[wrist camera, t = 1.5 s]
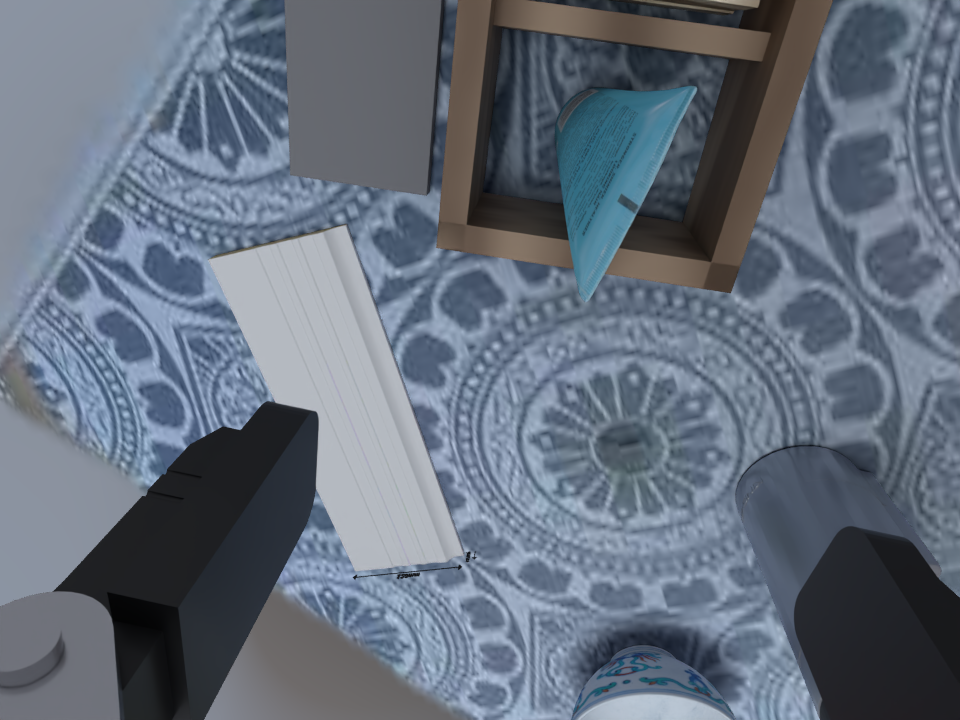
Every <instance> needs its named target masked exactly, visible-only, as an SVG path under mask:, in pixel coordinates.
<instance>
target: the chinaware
mask: <svg viewBox="0 0 960 720" xmlns="http://www.w3.org/2000/svg"><path fill="white" fill-rule="evenodd" d="M571 720H736V718H735V716H734V714H733V713H732V711H731V709H730V708H729V706H728V704H727V703H726V701H725V700H724V698H723V697H722V696H721V694H720V693H719V692H718V691H717V689H716V688H715V687H714V686H713V685H712V684H711V683H710V682H709V681H708V680H707V679H706V678H705V677H704V676H702V675H701V674H700V673H699V672H697V671H696V670H695V669H693V668H692V667H690V666H688V665H687V664H685V663H683V662H681V661H679V660H677V659H676V658H675V657H674V656H673V655H672V654H671V653H669V652H668V651H666V650H664V649H661V648H658V647H655V646H649V645H637V646H631V647H628V648H625V649H622V650H621V651H619V652H617V653H616V654H615V655H614V656H613V657H612V659H611V661H610V662H609V663H607V664H605V665H604V666H603V667H601V668H600V669H599V670H598V671H597V672H596V673H595V674H594V675H593V676H592V677H591V678H590V679H589V681H588V682H587V683H586V685H585V686H584V688H583V690H582V691H581V693H580V695H579V698H578V700H577V702H576V705H575V708H574V711H573V715H572V719H571Z"/></svg>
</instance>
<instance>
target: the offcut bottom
mask: <svg viewBox="0 0 960 720" xmlns="http://www.w3.org/2000/svg"><path fill="white" fill-rule="evenodd" d="M611 1H618V2H626V3H634V4H641V5H649V6H656V7H664V8H671V9H679V10H686V11H694V12H701V13H709V14H717V15H729V14H733V12H734V11H727V10H720V9H713V8H706V7H698V6H691V5H684V4H677V3H670V2H662V1H655V0H611Z"/></svg>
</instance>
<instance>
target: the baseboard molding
mask: <svg viewBox="0 0 960 720" xmlns="http://www.w3.org/2000/svg"><path fill="white" fill-rule="evenodd" d="M208 261H209V263H210V265H211V267H212V269H213V271H214V273H215V275H216V277H217V280H218V282H219V284H220V286H221V288H222V290H223V292H224V294H225V296H226V299H227V301H228V303H229V305H230V307H231V309H232V311H233V313H234V315H235V318H236V320H237V322H238V324H239V326H240V328H241V330H242V332H243V334H244V337H245V339H246V341H247V343H248V345H249V347H250V349H251V351H252V353H253V356H254V358H255V360H256V362H257V364H258V366H259V368H260V370H261V372H262V375H263V377H264V379H265V381H266V383H267V385H268V387H269V389H270V391H271V394H272V396H273V398H274V400H275V402H276V403H279V404H284V405H289V406H293V407H298V408H303V409H307V410H312V411H316V412H317V414H318V417H319V431H318V452H317V473H316V489H317V491H318V493H319V495H320V497H321V499H322V501H323V503H324V506H325V508H326V510H327V512H328V514H329V516H330V518H331V520H332V522H333V525H334V527H335V529H336V531H337V533H338V535H339V537H340V539H341V541H342V544H343V546H344V548H345V550H346V552H347V554H348V556H349V558H350V561H351V563H352V565H353V567H354V569H355V571H363V570H373V569H383V568H392V567H395V566H410V565H415V564H427V563H434V562H438V563H442V562H448V561H449V560H450V559H451V558H453V557H455V556H463V555H464V549H463V547H462V544H461V541H460V538H459V536H458V533H457V530H456V527H455V524H454V522H453V519H452V516H451V513H450V510H449V508H448V505H447V502H446V499H445V496H444V494H443V491H442V488H441V485H440V482H439V480H438V477H437V474H436V471H435V468H434V466H433V463H432V460H431V457H430V454H429V452H428V449H427V446H426V443H425V440H424V438H423V435H422V432H421V429H420V426H419V424H418V421H417V418H416V415H415V412H414V410H413V407H412V404H411V401H410V398H409V396H408V393H407V390H406V387H405V384H404V382H403V379H402V376H401V373H400V370H399V368H398V365H397V362H396V359H395V356H394V354H393V351H392V348H391V345H390V342H389V340H388V337H387V334H386V331H385V328H384V326H383V323H382V320H381V317H380V314H379V312H378V309H377V306H376V303H375V300H374V298H373V295H372V292H371V289H370V286H369V284H368V281H367V278H366V275H365V272H364V270H363V267H362V264H361V261H360V259H359V256H358V253H357V250H356V247H355V245H354V242H353V239H352V236H351V233H350V231H349V228H348V225H347V224H345V225H341V226H337V227H332V228H328V229H324V230H320V231H316V232H312V233H307V234H303V235H299V236H295V237H291V238H287V239H282V240H278V241H274V242H270V243H266V244H262V245H257V246H253V247H249V248H245V249H241V250H237V251H232V252H228V253H224V254H220V255H216V256H214V257H212V258H210V259H208ZM475 552H476V551H475ZM466 553H467V552H466ZM468 554H469V555H468ZM466 557H469V558H466V562H469V561H467V560H469V559H470V552H468V553H467V556H466ZM472 558H473V559H475V558H477V557H475V554H474V557H472ZM461 567H462V566H461V565H459V567H451V568H458V570H459V569H460V568H461ZM441 569H449V568H441ZM431 570H439V569H431ZM421 571H428V570H421ZM411 572H418V571H411ZM400 573H408V572H400ZM390 574H398V573H390ZM380 575H388V574H380ZM403 575H405V576H403ZM406 575H407V576H406ZM419 575H420V573H415V574H414V573H413V575H412V573H411V575H410V573H409V575H408V574H399V575H398V577H397V579H399V577H400V576H403V577H401V579H403V578H404V577H405V578H407V577H411V576H412V577H413V576H419ZM370 576H378V575H370ZM360 577H368V576H360ZM353 578H354V579H356V578H358V577H357V575H356V576H354V577H353Z"/></svg>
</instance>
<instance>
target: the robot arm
mask: <svg viewBox="0 0 960 720" xmlns="http://www.w3.org/2000/svg"><path fill="white" fill-rule="evenodd" d="M318 431H319V417H318V414H317V412H316V411H312V410H307V409H303V408H298V407H293V406H289V405H284V404H279V403H274V402H269V401H267V402H265V403H263V404H262V405H261V406H260V408H259V409H258V410H257V411H256V412H255V414H254V415H253V416H252V417H251V418H250V420H249V421H248V422H247V423H246V424H245V426H244V427H243V428H242V429H241V430H237V429H232V428H228V427H221V428H219V429H218V430H216V431H214V432H212V433H210V434H208V435H207V436H205V437H203V438H201V439H199V440H197V441H196V442H194V443H192V444H190V445H189V446H188V447H187V448H186V449H185V451H184V452H183V453H182V454H181V455H180V456H179V457H178V458H177V459H176V460H175V461H174V462H173V463H172V465H171V466H170V467H169V468H168V469H167V473H166V474H165V475H164V474H162V475H161V476H160V478H159V479H158V480H157V481H156V482H155V483H154V484H153V485H152V486H151V487H150V488H149V489H148V492H147V495H146V496H142V497H141V498H140V499H139V500H138V501H137V503H136V504H135V505H134V506H133V507H132V508H131V509H130V510H129V511H128V512H127V513H126V514H125V515H124V516H123V518H122V519H121V520H120V521H119V522H118V523H117V524H116V525H115V526H114V527H113V528H112V529H111V531H110V532H109V533H108V534H107V535H106V536H105V537H104V538H103V539H102V540H101V541H100V542H99V544H98V545H97V546H96V547H95V548H94V549H93V550H92V551H91V552H90V553H89V554H88V555H87V556H86V558H85V559H84V560H83V561H82V562H81V563H80V564H79V565H78V566H77V568H75V569H74V570H73V572H72V573H71V574H70V575H69V576H68V577H67V578H66V579H65V580H64V581H63V582H62V583H61V584H60V585H59V586H58V587H57V588H56V589H55V590H54V591H53V592H47V593H40V594H36V595H31V596H27V597H24V598H21V599H18V600H15V601H12V602H10V603H8V604H5V605H3V606H0V720H204V719H205V717H206V714H207V713H208V711H209V709H210V707H211V705H212V703H213V701H214V699H215V698H216V696H217V694H218V692H219V690H220V688H221V686H222V684H223V682H224V681H225V679H226V677H227V675H228V673H229V671H230V669H231V667H232V665H233V663H234V661H235V660H236V658H237V656H238V654H239V652H240V650H241V648H242V646H243V644H244V642H245V641H246V639H247V637H248V635H249V633H250V631H251V629H252V627H253V625H254V623H255V622H256V620H257V618H258V616H259V614H260V612H261V610H262V608H263V606H264V604H265V603H266V601H267V599H268V597H269V595H270V593H271V591H272V589H273V587H274V586H275V584H276V582H277V580H278V578H279V576H280V574H281V572H282V570H283V568H284V567H285V565H286V563H287V561H288V559H289V557H290V555H291V553H292V551H293V549H294V548H295V546H296V544H297V542H298V540H299V538H300V536H301V534H302V532H303V530H304V528H305V526H306V524H307V522H308V519H309V516H310V513H311V510H312V506H313V502H314V497H315V491H316V473H317V452H318ZM736 505H737V508H738V512H739V514H740V517H741V520H742V523H743V524H744V527H745V530H746V532H747V535H748V537H749V540H750V543H751V545H752V548H753V551H754V553H755V556H756V558H757V561H758V563H759V566H760V568H761V571H762V574H763V576H764V579H765V581H766V584H767V586H768V589H769V591H770V594H771V597H772V599H773V602H774V604H775V607H776V609H777V612H778V614H779V617H780V620H781V622H782V625H783V627H784V630H785V632H786V635H787V637H788V640H789V643H790V645H791V648H792V650H793V653H794V655H795V658H796V660H797V663H798V666H799V668H800V670H801V673H802V675H803V678H804V680H805V683H806V686H807V688H808V691H809V693H810V696H811V698H812V701H813V703H814V706H815V709H816V711H817V714H818V716H819V718H820V720H960V598H959V597H958V596H957V595H956V594H955V593H954V592H953V591H952V590H951V589H949V588H948V587H947V586H946V585H945V584H944V583H943V582H942V581H940V580H939V576H940V575H941V567H940V565H939V563H938V562H937V561H936V559H935V558H934V557H933V555H932V554H931V553H930V551H929V550H928V549H927V547H926V546H925V545H924V543H923V542H922V540H921V539H920V538H919V536H918V535H917V534H916V532H915V531H914V530H913V528H912V527H911V526H910V524H909V523H908V521H907V520H906V519H905V517H904V516H903V515H902V513H901V512H900V511H899V509H898V508H897V507H896V505H895V504H894V503H893V501H892V500H891V498H890V497H889V496H888V494H887V493H886V492H885V490H884V489H883V488H882V486H881V485H880V484H879V482H878V481H877V480H876V478H875V477H874V475H873V474H872V473H870V472H865V471H861V470H859V469H858V468H856V467H855V466H854V464H853V463H852V462H851V461H850V460H849V459H848V458H846V457H845V456H843V455H841V454H840V453H838V452H835V451H833V450H830V449H827V448H821V447H815V446H799V447H793V448H787V449H784V450H780V451H777V452H774V453H772V454H770V455H768V456H766V457H764V458H762V459H761V460H759V461H758V462H757V463H755V464H754V465H753V466H751V468H750V469H749V470H748V471H747V472H746V473H745V474H744V475H743V477H742V479H741V481H740V482H739V484H738V488H737V491H736Z"/></svg>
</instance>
